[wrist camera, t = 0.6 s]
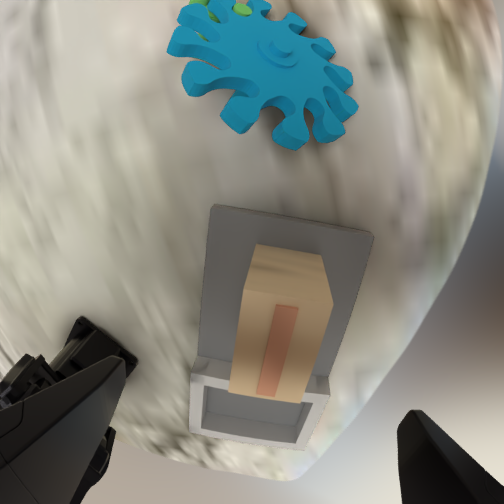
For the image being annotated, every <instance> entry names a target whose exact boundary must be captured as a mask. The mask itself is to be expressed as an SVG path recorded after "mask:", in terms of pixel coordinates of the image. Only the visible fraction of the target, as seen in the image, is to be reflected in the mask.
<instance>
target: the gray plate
mask: <svg viewBox="0 0 504 504" xmlns="http://www.w3.org/2000/svg"><path fill="white" fill-rule="evenodd" d="M373 239H374V236H373V235H372V234H371V233H370V232H367V231H362V230H357V229H352V228H347V227H342V226H336V225H331V224H326V223H321V222H315V221H310V220H305V219H299V218H293V217H288V216H282V215H277V214H271V213H265V212H259V211H253V210H247V209H241V208H235V207H229V206H222V205H216V204H214V205H213V206H212V207H211V210H210V219H209V228H208V237H207V247H206V257H205V268H204V278H203V290H202V301H201V314H200V327H199V341H198V356H197V358H196V361H195V363H194V366H193V368H192V371H191V381H190V411H189V432H191V433H195V434H200V435H204V436H209V437H214V438H218V439H224V440H229V441H234V442H240V443H246V444H252V445H259V446H266V447H274V448H282V449H292V450H302V451H304V450H305V448H306V446H307V444H308V442H309V440H310V438H311V436H312V434H313V432H314V430H315V428H316V425H317V423H318V421H319V419H320V417H321V415H322V413H323V411H324V408H325V406H326V404H327V402H328V399H329V397H330V388H329V380H328V376H329V374H330V371H331V368H332V366H333V363H334V361H335V358H336V355H337V353H338V350H339V347H340V345H341V342H342V339H343V336H344V333H345V330H346V328H347V325H348V322H349V319H350V316H351V313H352V310H353V307H354V304H355V301H356V298H357V294H358V291H359V288H360V285H361V281H362V278H363V275H364V271H365V268H366V265H367V261H368V258H369V254H370V250H371V247H372V243H373ZM256 244H261V245H266V246H272V247H278V248H283V249H289V250H295V251H301V252H306V253H312V254H317V255H321V257H322V260H323V264H324V268H325V272H326V276H327V280H328V284H329V288H330V292H331V296H332V300H333V308H332V311H331V314H330V318H329V321H328V324H327V327H326V330H325V334H324V337H323V340H322V343H321V346H320V349H319V352H318V355H317V358H316V361H315V364H314V367H313V369H312V372H311V375H310V378H309V381H308V384H307V386H306V389H305V392H304V395H303V397H302V400H301V403H292V402H284V401H277V400H270V399H264V398H257V397H251V396H246V395H240V394H235V393H229V392H228V388H229V381H230V375H231V368H232V361H233V355H234V348H235V341H236V335H237V328H238V322H239V315H240V309H241V302H242V295H243V289H244V285H245V282H246V278H247V275H248V271H249V268H250V264H251V260H252V257H253V253H254V250H255V246H256Z"/></svg>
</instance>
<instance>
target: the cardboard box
mask: <svg viewBox="0 0 504 504" xmlns="http://www.w3.org/2000/svg"><path fill="white" fill-rule="evenodd" d="M332 308H333V300H332V296H331V292H330V288H329V284H328V280H327V276H326V272H325V268H324V264H323V260H322V257H321V255H317V254H312V253H306V252H301V251H295V250H289V249H283V248H278V247H272V246H266V245H261V244H256V246H255V250H254V253H253V257H252V260H251V264H250V268H249V271H248V275H247V278H246V282H245V285H244V289H243V295H242V302H241V309H240V315H239V322H238V328H237V335H236V341H235V348H234V355H233V361H232V368H231V375H230V381H229V388H228V392H229V393H235V394H240V395H246V396H251V397H257V398H264V399H270V400H277V401H284V402H292V403H301V400H302V397H303V395H304V392H305V389H306V386H307V384H308V381H309V378H310V375H311V372H312V369H313V367H314V364H315V361H316V358H317V355H318V352H319V349H320V346H321V343H322V340H323V337H324V334H325V330H326V327H327V324H328V321H329V318H330V314H331V311H332Z"/></svg>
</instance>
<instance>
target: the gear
mask: <svg viewBox="0 0 504 504" xmlns="http://www.w3.org/2000/svg"><path fill="white" fill-rule="evenodd" d="M271 8H272V6H271V4H270V3H268V2H266V1H264V0H249V1H248V3H247V4H246V5H244V4H240V3H237V4H236V0H190V2H189V5H187V6H185V7H183V8H182V9H181V11H180V14H179V16H178V19H177V22H178V23H179V24H180V25H182V26H178V27H177V28H176V29H175V30H174V33H173V35H172V37H171V40H170V43H169V45H168V48H167V53H168V54H170V55H172V56H175V57H193V58H198V59H201V60H204V61H206V62H208V63H211V64H212V65H214V66H216V67H218V68H219V69H216V68H214V67H212V66H210V65H209V64H207V63H204V62H201V61H190V62H188V63H187V65H186V67H185V69H184V71H183V74H182V84H183V86H184V89H185V91H186V92H187V94H188V95H189V96H193V97H199V96H202V95H204V94H206V93H207V92H209V91H212V90H215V89H223V88H225V89H234V90H236V91H235V92H234V94H233V95H232V97H231V98H230V99H229V101H228V102H227V104H226V105H225V107H224V109H223V110H222V112H221V114H220V117H221V118H222V120H223V121H224V122H225V123H226V124H227V125H228V126H229V127H231V128H232V129H233V130H234V131H236V132H237V133H238V134H243V133H245V132H247V131H248V130H249V129H250V127H251V126H252V125H253V124H254V123H255V122H256V121H257V119H258V117H259V112H260V110H261V109H263V108H265V107H268V106H275V107H278V108H279V109H281V110H282V111H283V113H284V115H285V117H286V118H285V119H284V120H283V121H282V122H281V123H280V124H279V125H278V126H277V127H276V128H275V129H274V130H273V132H272V138H273V141H274V142H276V143H277V144H279V145H281V146H283V147H286V148H288V149H292V150H295V151H296V150H297V149H299V148H300V147H301V146H302V145H304V144H305V143H306V142H307V141H308V140H309V130H308V128H307V126H306V123H305V120H304V115H303V109H304V107H305V108H307V109H308V110H309V111H310V112H311V113H312V114H313V116H314V124H313V127H312V132H313V135H314V137H315V139H316V140H317V141H318V142H321V143H329V142H333V141H335V140H336V139H338V138H339V137H341V136H342V135H343V134H345V129H344V126H343V124H342V123H341V122H344V121H345V120H346V119H348V118H349V117H351V116H352V115H353V114H355V113H356V111H357V110H358V107H359V106H358V104H357V103H356V102H355V100H354V99H352V98H351V97H350V96H348V95H346V94H345V93H344V91H346V90H347V89H348V88H349V87H351V86H352V85H353V78H352V74H351V72H350V71H349V70H348V69H346V68H344V67H341V66H337V65H334V64H332V63H330V62H328V60H329V59H330V58H331V57H332V56H333V55H334V54H335V53H336V51H335V49H334V47H333V46H332V44H331V43H330V42H329V40H328V39H326V38H323V37H319V38H317V39H311V38H306V37H303V36H300V35H299V34H300V33H301V32H302V30H303V29H304V28H305V27H306V26H307V23H306V22H305V21H304V20H303V19H301V18H300V17H299V16H297V15H296V14H295V13H292V12H289V13H288V14H287V15H286V16H285V18H284V19H283V20H282V21H270V20H268V19H266V18H264V17H265V16H266V15H267V13H268V12H269V11H270V9H271ZM195 31H196V32H198V33H199V34H197V33H196V32H195ZM208 41H209V42H208ZM326 100H327V101H328V103H329V105H330V107H329V106H328V104H327V101H326Z"/></svg>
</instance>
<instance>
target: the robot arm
mask: <svg viewBox="0 0 504 504" xmlns="http://www.w3.org/2000/svg"><path fill="white" fill-rule="evenodd" d="M81 322H82V323H81ZM132 362H133V363H132ZM137 364H138V361H137V359H136V358H135V357H133V356H132V355H131V354H129V353H128V352H127V351H125V350H124V349H123V348H121V347H120V346H119V345H117V344H116V343H115V342H113V341H112V340H111V339H109V338H108V337H107V336H106V335H104V334H103V333H102V332H101V331H99V330H98V329H97V328H96V327H94V326H93V325H92V324H91V323H90V322H88V321H87V320H86V319H85V318H83V317H79V318H78V319H77V320H76V322H75V324H74V326H73V328H72V330H71V333H70V335H69V337H68V339H67V342H66V344H65V346H64V348H63V350H62V351H61V352H60V353H59V354H58V355H57V356H56V357H55V359H54V360H53V361H52V362H51V363H50V364H49V365H48V363H47V362H46V361H45V358H44V357H43V356H42V355H41V354H40V355H39V356H37V357H36V358H34V357H32V356H30V355H28V354H25V355H24V356H23V357H22V358H21V359H20V360H19V361H18V362H17V363H16V364H15V365H14V366H13V367H12V369H11V370H10V371H9V372H8V373H7V374H6V376H5V377H4V378H3V379H2V380H1V382H0V504H80V503H81V501H82V500H83V498H84V496H85V494H86V493H87V491H88V490H89V489H90V488H91V487H92V486H93V485H95V484H96V483H97V482H98V481H99V480H100V479H101V478H102V476H103V475H104V474H105V472H106V470H107V468H108V464H109V460H110V456H111V451H112V447H113V443H114V439H115V434H116V430H114V429H113V428H112V427H110V426H109V424H110V422H111V419H112V417H113V414H114V411H115V409H116V406H117V404H118V401H119V398H120V396H121V393H122V391H123V388H124V386H125V382H126V378H127V377H128V376H129V375H130V373H131V372H132V371H133V370H134V368H135V367H136V365H137ZM397 443H398V470H399V479H400V487H401V497H402V504H504V486H503V485H501V484H500V483H499V482H498V481H497V480H496V479H495V478H493V477H492V476H491V475H490V474H489V473H488V472H487V471H485V469H484V468H483V467H482V466H481V465H480V464H478V463H477V462H476V461H475V460H474V459H473V458H472V457H471V456H470V455H469V454H468V453H467V452H466V451H465V450H463V449H462V448H461V447H460V446H459V445H458V444H457V443H456V442H455V441H454V440H453V439H452V438H451V437H450V436H448V434H446V433H445V432H444V431H443V430H442V429H441V428H440V427H439V426H438V425H437V424H436V423H435V422H434V421H433V420H431V418H429V417H428V416H427V415H426V414H425V413H424V412H423V411H422V410H410V411H409V412H408V413H407V414H406V416H405V417H404V419H403V420H402V421H401V423H400V424H399V426H398V429H397Z"/></svg>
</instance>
